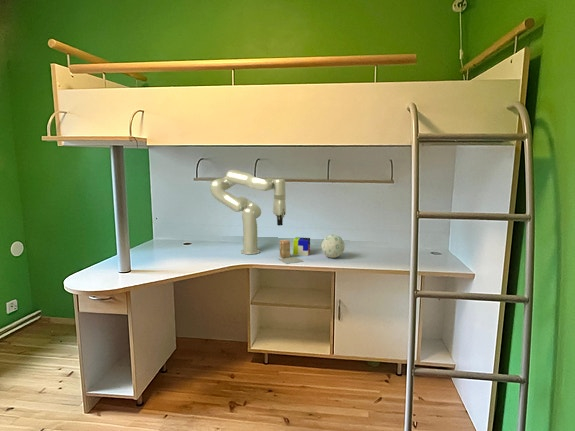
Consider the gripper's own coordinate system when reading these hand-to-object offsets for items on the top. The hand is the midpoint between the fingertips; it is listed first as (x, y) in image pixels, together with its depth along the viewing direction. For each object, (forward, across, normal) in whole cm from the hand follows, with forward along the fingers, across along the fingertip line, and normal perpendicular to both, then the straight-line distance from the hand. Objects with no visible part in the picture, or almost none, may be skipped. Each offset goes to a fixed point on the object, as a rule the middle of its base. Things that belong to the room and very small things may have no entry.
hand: (279, 225), depth 261 cm
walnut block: (+20, +8, 0) cm, 22 cm away
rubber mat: (+20, +16, 0) cm, 26 cm away
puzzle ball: (+21, +22, +28) cm, 41 cm away
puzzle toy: (+20, +4, +15) cm, 25 cm away
